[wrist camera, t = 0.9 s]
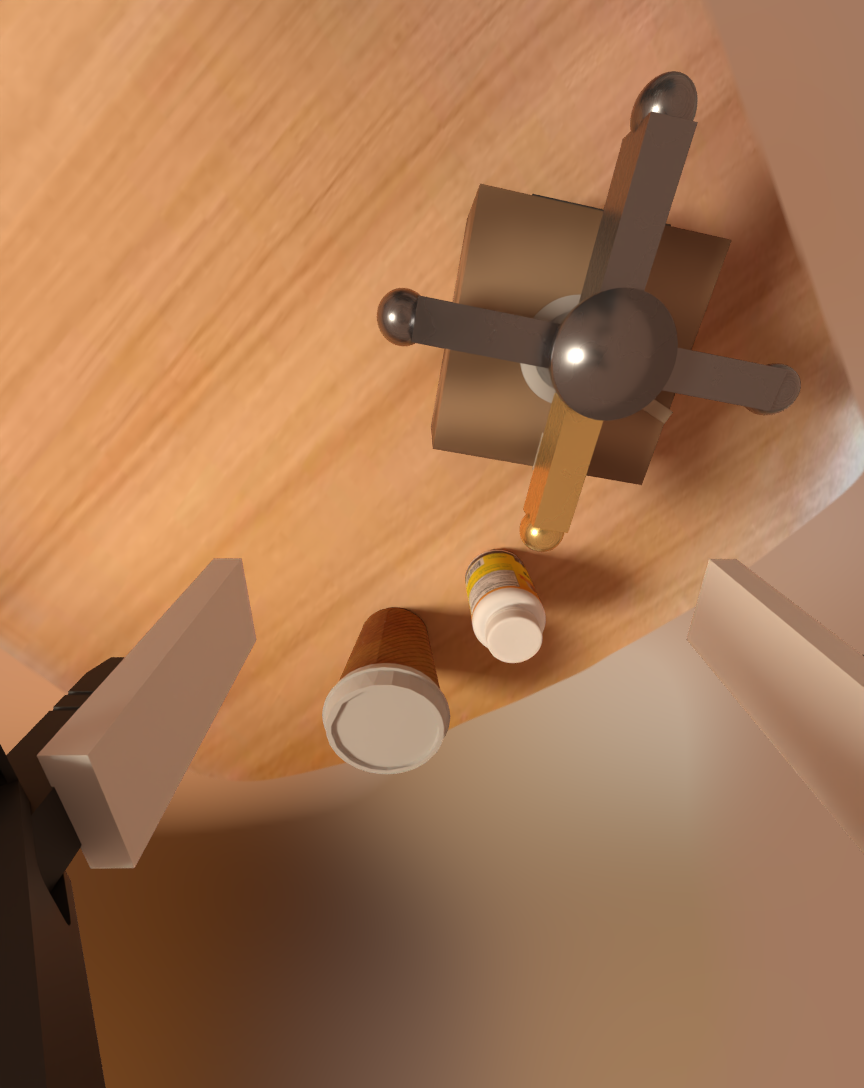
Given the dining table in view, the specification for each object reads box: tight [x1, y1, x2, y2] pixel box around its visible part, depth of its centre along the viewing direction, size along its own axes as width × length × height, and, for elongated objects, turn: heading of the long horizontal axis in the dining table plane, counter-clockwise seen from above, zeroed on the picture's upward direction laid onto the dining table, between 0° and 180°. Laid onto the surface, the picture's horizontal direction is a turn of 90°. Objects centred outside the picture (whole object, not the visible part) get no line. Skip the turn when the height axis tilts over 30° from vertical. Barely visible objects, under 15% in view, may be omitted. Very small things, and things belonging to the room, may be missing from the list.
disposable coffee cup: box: [322, 608, 450, 774], centre depth 40 cm, size 10×10×12 cm
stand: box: [431, 184, 731, 485], centre depth 31 cm, size 16×14×8 cm
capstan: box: [377, 71, 801, 552], centre depth 25 cm, size 22×22×7 cm
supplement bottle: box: [465, 550, 546, 663], centre depth 38 cm, size 6×6×10 cm
